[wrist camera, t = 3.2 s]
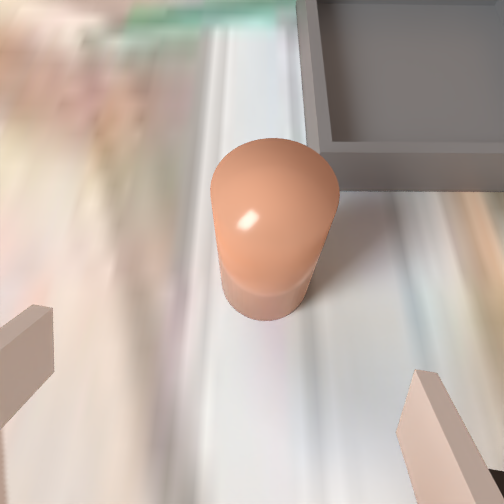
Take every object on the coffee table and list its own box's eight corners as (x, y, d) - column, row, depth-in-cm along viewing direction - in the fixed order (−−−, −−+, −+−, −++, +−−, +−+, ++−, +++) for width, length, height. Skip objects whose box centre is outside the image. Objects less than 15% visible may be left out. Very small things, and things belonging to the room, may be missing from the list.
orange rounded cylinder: (304, 241, 34) (333, 138, 23) (310, 320, 31) (345, 246, 20) (222, 240, 34) (212, 137, 23) (220, 320, 31) (207, 246, 20)
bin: (496, 8, 47) (523, -40, 42) (569, 192, 36) (615, 153, 32) (295, 6, 46) (301, -43, 42) (310, 190, 36) (319, 152, 31)
